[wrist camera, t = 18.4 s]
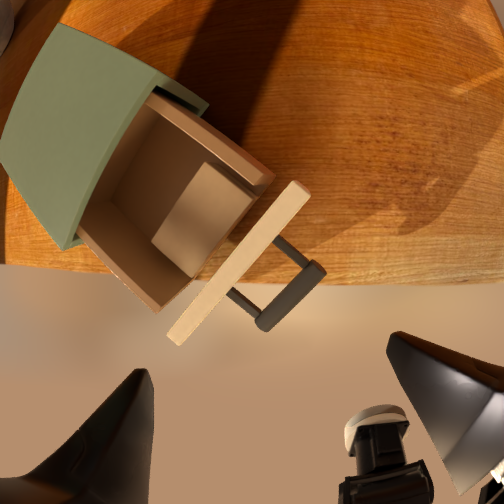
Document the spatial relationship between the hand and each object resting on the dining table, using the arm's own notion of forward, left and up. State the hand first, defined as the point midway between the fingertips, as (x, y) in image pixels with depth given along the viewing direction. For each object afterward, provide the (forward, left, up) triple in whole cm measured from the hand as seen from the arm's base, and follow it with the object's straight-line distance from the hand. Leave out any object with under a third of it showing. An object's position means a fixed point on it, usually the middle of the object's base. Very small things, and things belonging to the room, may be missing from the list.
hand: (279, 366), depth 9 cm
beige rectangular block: (+4, +6, -12) cm, 14 cm away
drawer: (+4, +6, -13) cm, 15 cm away
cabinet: (+13, +16, -14) cm, 25 cm away
